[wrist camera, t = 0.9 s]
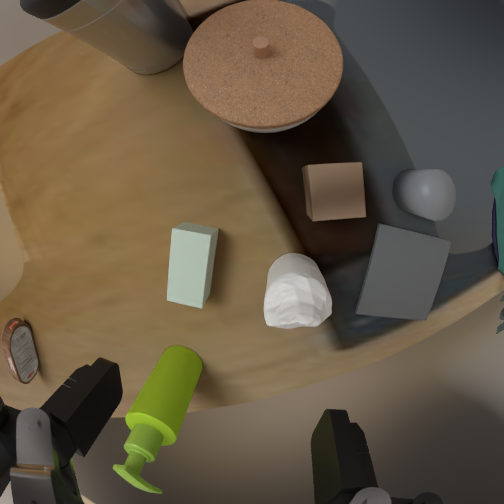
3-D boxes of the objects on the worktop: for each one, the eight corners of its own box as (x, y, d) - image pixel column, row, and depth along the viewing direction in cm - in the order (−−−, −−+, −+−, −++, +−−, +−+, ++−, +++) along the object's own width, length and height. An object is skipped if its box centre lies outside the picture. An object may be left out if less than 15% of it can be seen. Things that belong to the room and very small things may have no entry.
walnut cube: (301, 167, 27) (307, 165, 22) (347, 164, 27) (361, 162, 22) (306, 214, 28) (313, 221, 24) (351, 210, 28) (365, 216, 23)
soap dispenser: (181, 385, 36) (135, 493, 17) (155, 351, 35) (88, 458, 16) (214, 377, 35) (176, 498, 16) (187, 340, 34) (126, 463, 15)
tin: (22, 310, 37) (-6, 329, 29) (31, 316, 37) (3, 336, 29) (35, 365, 41) (14, 385, 33) (44, 371, 41) (23, 392, 33)
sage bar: (184, 221, 30) (172, 228, 26) (219, 227, 30) (210, 235, 26) (178, 286, 32) (166, 300, 28) (210, 293, 32) (201, 308, 28)
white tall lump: (271, 368, 20) (250, 308, 19) (274, 303, 31) (260, 258, 30) (347, 350, 19) (335, 286, 18) (324, 290, 30) (313, 244, 29)
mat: (378, 223, 28) (380, 224, 27) (449, 240, 27) (451, 241, 27) (354, 311, 31) (355, 313, 30) (424, 318, 30) (426, 320, 30)
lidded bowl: (264, 25, 23) (259, -32, 12) (347, 93, 24) (382, 54, 14) (185, 93, 26) (142, 57, 15) (266, 167, 27) (261, 159, 17)
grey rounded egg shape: (395, 164, 26) (421, 162, 20) (430, 175, 26) (459, 177, 20) (389, 207, 27) (413, 215, 22) (423, 216, 27) (450, 225, 21)
